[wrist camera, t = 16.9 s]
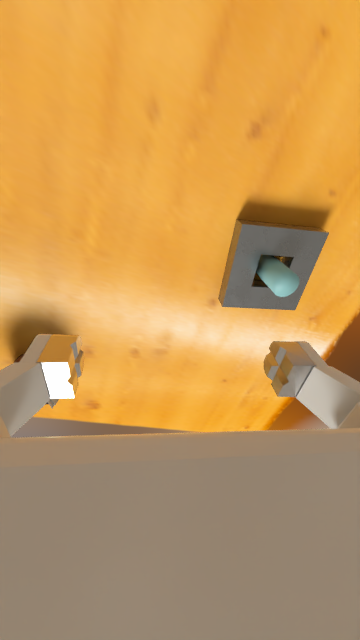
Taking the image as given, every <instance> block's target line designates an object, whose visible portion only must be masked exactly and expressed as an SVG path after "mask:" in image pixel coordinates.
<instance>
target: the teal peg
mask: <svg viewBox="0 0 360 640" xmlns="http://www.w3.org/2000/svg"><path fill="white" fill-rule="evenodd" d="M256 273H257V275H258V276H259V277H260V278H261V279H262V280H263V281H264V282H265V284H266V285H267V286H268V287H269V288H270V289H271V290H272V291H273V293H274V294H275V295H277V296H279V297H285V296H288V295H290V294H292V293H293V292H294V291H295V290H296V289H297V288H298V285H299V277H298V276H297V274H295V273H294V272H293V271H292V270H290V269H289V268H288V267H287V266H286V265H284V264H283V263H282V262H281V261H279V260H278V259H277V258H276V257H275V256H273V255H261V256H260V259H259V263H258V266H257V269H256Z"/></svg>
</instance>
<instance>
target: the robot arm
mask: <svg viewBox="0 0 360 640" xmlns="http://www.w3.org/2000/svg"><path fill="white" fill-rule="evenodd" d="M81 346H82V340H81V337H80V336H79V335H59V334H38V335H37V336H36V337H35V339H34V340H33V342H32V343H31V345H30V346H29V348H28V349H27V351H26V353H25V354H24V356H23V357H22V359H21V360H20V362H15V363H13V364H11V365H9V366H8V367H6V368H4V369H2V370H0V640H360V382H358V381H356V380H354V379H352V378H351V377H349V376H347V375H345V374H344V373H342V372H340V371H339V370H336V369H335V368H333V367H328V366H327V364H326V363H325V362H324V361H323V359H322V358H321V357H320V356H319V355H318V354H317V352H316V351H315V350H314V349H313V348H312V347H311V345H310V344H309V343H307V342H280V341H273V342H272V343H271V345H270V347H269V349H270V353H269V354H268V355H267V356H266V357H265V360H264V370H265V373H266V375H267V377H269V378H270V379H271V380H272V384H271V385H272V387H273V389H274V390H275V392H276V394H277V396H280V397H296V398H297V399H298V400H299V401H300V402H301V403H303V404H304V405H305V406H306V407H307V408H308V409H309V410H310V411H312V412H313V413H314V414H315V415H316V416H318V418H320V419H321V420H322V421H323V422H324V423H325V424H326V425H328V426H329V427H330V428H331V429H305V430H271V431H234V432H197V433H162V434H127V435H126V434H125V435H89V436H54V437H21V438H20V437H19V438H18V437H17V438H11V436H12V435H13V434H14V433H15V432H16V431H17V430H18V429H20V427H22V426H23V424H25V423H26V422H27V421H28V420H29V419H30V418H31V417H32V416H33V415H34V414H36V413H37V412H38V411H39V410H40V409H41V408H42V407H43V406H44V405H45V404H46V403H47V402H48V401H49V400H50V398H74V396H75V393H76V390H77V387H78V377H80V376H81V375H82V371H83V366H84V354H83V351H81V350H80V348H81Z"/></svg>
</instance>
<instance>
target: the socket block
mask: <svg viewBox="0 0 360 640" xmlns="http://www.w3.org/2000/svg"><path fill="white" fill-rule="evenodd" d="M328 234H329V232H326V231H324V230H322V229H319V228H314V227H305V226H295V225H285V224H275V223H266V222H256V221H246V220H236V223H235V228H234V232H233V237H232V241H231V245H230V250H229V254H228V259H227V263H226V267H225V272H224V276H223V281H222V285H221V289H220V294H219V298H218V299H219V301H220V303H221V305H222V307H240V308H260V309H281V310H295V309H296V307H297V305H298V302H299V300H300V298H301V296H302V293H303V291H304V289H305V286H306V284H307V282H308V280H309V277H310V275H311V273H312V270H313V268H314V266H315V264H316V261H317V259H318V257H319V254H320V252H321V250H322V248H323V245H324V243H325V241H326V238H327V236H328ZM261 254H262V255H274V256H283V259H282V263H283V264H284V265H286V266H287V267H288V268H289V269H290V270H292V271H293V272H294V273H295V274H297V276H298V277H299V285H298V288H297V289H296V290H295V291H294V292H293V293H292V294H290V295H288V296H285V297H279V296H277V295H275V294H274V293H273V291H272V290H271V289H270V288H269V287H268V286H267V285H266V284H265V282H264V281H263V280H253V279H254V276H255V273H256V269H257V266H258V263H259V259H260V256H261Z"/></svg>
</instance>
